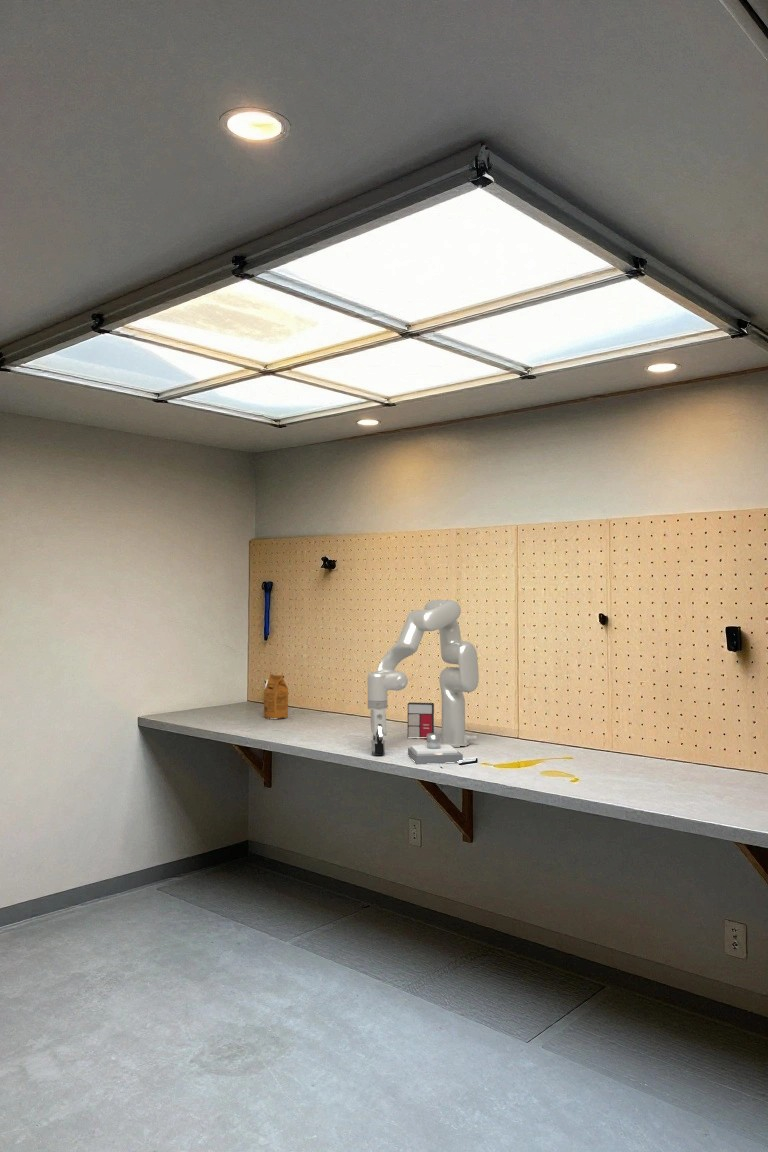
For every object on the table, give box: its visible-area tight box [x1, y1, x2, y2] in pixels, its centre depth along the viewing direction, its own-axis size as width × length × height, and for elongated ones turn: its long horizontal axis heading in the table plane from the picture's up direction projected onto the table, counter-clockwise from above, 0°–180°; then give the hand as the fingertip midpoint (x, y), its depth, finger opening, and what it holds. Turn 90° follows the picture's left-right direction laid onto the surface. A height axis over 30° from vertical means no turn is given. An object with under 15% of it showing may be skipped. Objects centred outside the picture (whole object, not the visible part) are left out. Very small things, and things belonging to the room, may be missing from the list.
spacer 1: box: [370, 739, 386, 756], centre depth 313 cm, size 5×5×5 cm
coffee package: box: [263, 673, 289, 719], centre depth 413 cm, size 10×12×22 cm
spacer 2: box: [426, 732, 441, 749], centre depth 307 cm, size 5×5×5 cm
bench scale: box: [407, 744, 464, 765], centre depth 305 cm, size 17×17×4 cm
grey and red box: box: [407, 701, 435, 738], centre depth 352 cm, size 11×4×15 cm, turn 80°
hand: (378, 752), depth 313 cm, fingers closed on spacer 1, 5 cm apart
